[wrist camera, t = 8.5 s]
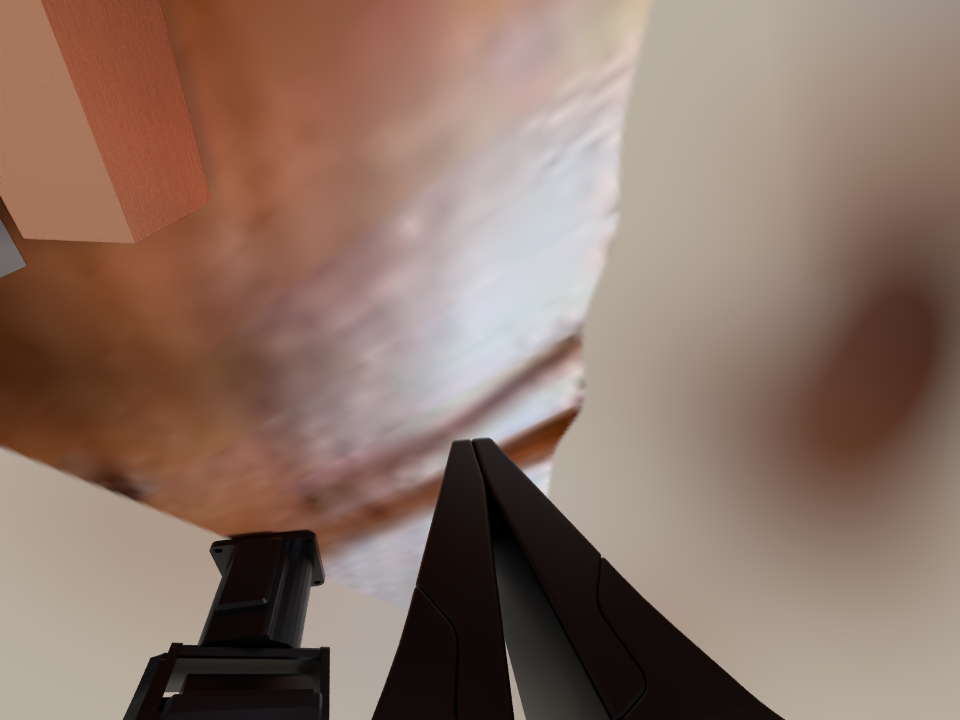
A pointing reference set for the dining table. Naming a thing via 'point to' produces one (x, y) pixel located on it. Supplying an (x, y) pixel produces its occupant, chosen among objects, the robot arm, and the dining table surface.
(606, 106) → the dining table surface
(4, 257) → the housing
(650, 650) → the robot arm
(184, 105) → the shaft
